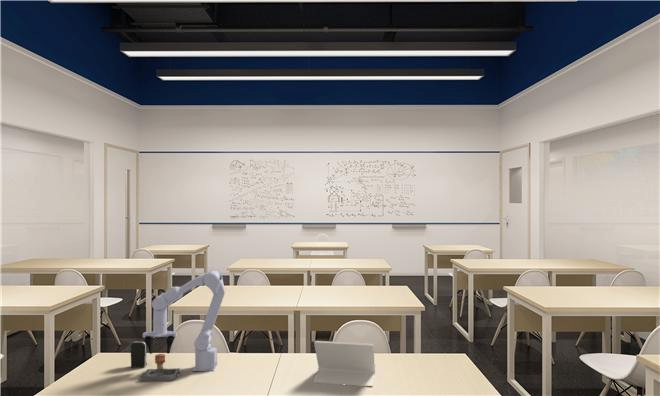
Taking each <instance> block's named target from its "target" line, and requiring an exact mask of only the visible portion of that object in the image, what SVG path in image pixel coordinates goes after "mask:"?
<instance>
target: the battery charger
mask: <svg viewBox="0 0 660 396" xmlns="http://www.w3.org/2000/svg"><path fill="white" fill-rule="evenodd" d="M148 352H149V349H148V346H147V344H146V342H145V341H144V340H135V341H133V342H132V343H131V344H130V367H131V368H145V367H146V366H148V365H147V364H148V363H147V353H148Z"/></svg>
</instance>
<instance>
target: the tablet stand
mask: <svg viewBox="0 0 660 396" xmlns="http://www.w3.org/2000/svg"><path fill="white" fill-rule="evenodd" d="M313 344H314V350H315V354H316V356H315V357H316V360H317V367H318V370H317V373H316V374H315V377H314V378H313V384H320V385H321V384H323V385H333V384H345V385H344V386H347V385H358V386H357V387H361V386H373V387H374V384H375V377H374V376H376V363H375V352H374V351H375V350H374V349H375V348H374V343H364V342H349V341H347V342H345V341H324V340H315V341H313ZM373 383H374V384H373Z"/></svg>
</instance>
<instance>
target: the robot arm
mask: <svg viewBox="0 0 660 396" xmlns="http://www.w3.org/2000/svg"><path fill="white" fill-rule="evenodd" d="M223 279H224V278H223V275H222V274H221V272H220V271H218V270H216V269H212V270H209V271H208V272H204V273H202V274H200V275H197V276H196V277H194V278H193V279H191V280H189V281H188V282H187V283H185V284H183V285H181V286H171V287H170V288H169V289H168V290H167V291H165V292H161V293H160V295H158V296H156V297H155V298H154V299H153V300H152V301H151V307H152V308H153V314H152V315H153V319H152V321H153V324H152V328H153V330H152V331H144V332H143V333H142V338H144V340H143V341H145V342H146V344H147V346H148V352H149V354H150V355H152V354H153V353H154V338H165V339H166V353H167V354H170V353H171V349H172V346H173V343H174V341H175V338H176V337H178V331H172V330H168V311H167V309H168V305H171V304H173V303H175V302H176V301H178V300H180V299H181V298H183V295H184V294H185V293H187V292H188V291H190V290H192V289H195V288H196V287H198V286H199V287H200V286H201V287H204V286H206V287H207V288H208V289H210V291H211V292H212V294H213V295H212V298H211V301H210V304H209V307H208V310H207V313H206V316H205V318H204V322H203V324H202V328H201V330H200V332H199V334H198V336H197V338H195V341H194V355H195V356H194V358H195V359H194V363H195V365H194V367H193V369H192V372H206V371H207V372H210V371H214V370H215V369H216V367H217V366H218V349H217V347H213V346H212V344H211V342H212V340H213V329H214V326H215V323H216V320H217V317H218V314H219V311H220V308H221V306H222V303H223V300H224V296H225V294H226V287H225V285H224V284H225V283H224V280H223Z"/></svg>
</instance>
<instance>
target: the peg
mask: <svg viewBox="0 0 660 396" xmlns="http://www.w3.org/2000/svg"><path fill="white" fill-rule="evenodd" d="M154 363H155V364H156V369H164V364H165V363H166V354H165V353H158V354H156V355H154Z"/></svg>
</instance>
